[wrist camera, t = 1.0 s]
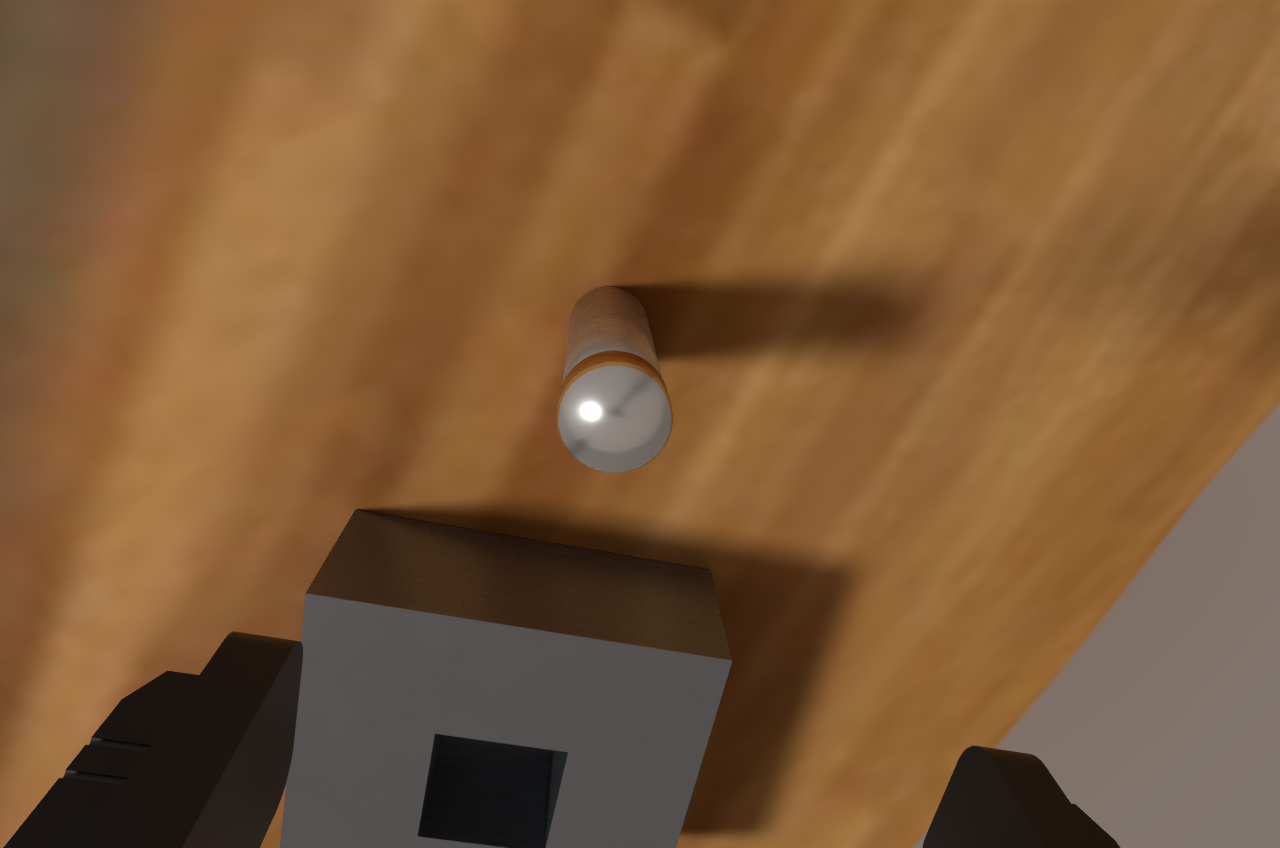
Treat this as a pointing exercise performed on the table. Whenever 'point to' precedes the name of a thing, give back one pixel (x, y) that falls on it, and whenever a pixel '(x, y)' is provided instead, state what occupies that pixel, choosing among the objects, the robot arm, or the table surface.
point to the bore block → (499, 693)
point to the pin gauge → (612, 385)
